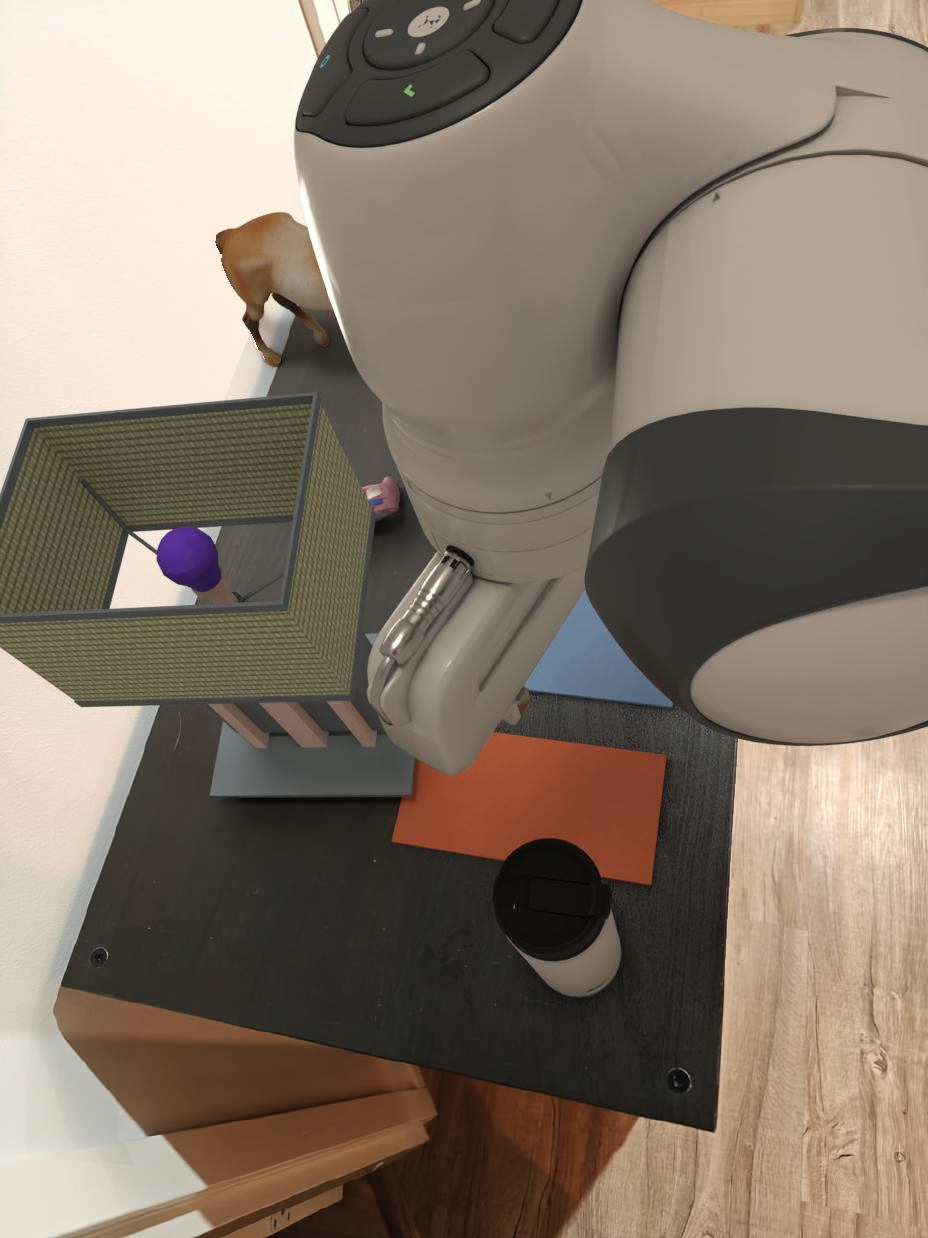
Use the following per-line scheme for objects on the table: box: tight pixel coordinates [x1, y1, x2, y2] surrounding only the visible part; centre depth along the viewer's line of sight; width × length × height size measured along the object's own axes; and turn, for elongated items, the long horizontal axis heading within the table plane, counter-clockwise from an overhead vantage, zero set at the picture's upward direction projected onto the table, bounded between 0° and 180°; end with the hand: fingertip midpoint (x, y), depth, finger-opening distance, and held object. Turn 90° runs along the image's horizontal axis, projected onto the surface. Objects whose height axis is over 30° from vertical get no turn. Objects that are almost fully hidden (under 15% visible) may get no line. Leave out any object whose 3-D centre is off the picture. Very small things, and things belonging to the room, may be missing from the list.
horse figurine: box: [215, 211, 334, 367], centre depth 90 cm, size 31×8×21 cm, turn 64°
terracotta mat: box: [391, 731, 668, 887], centre depth 73 cm, size 20×10×1 cm, turn 78°
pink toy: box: [361, 475, 401, 523], centre depth 87 cm, size 10×5×7 cm, turn 103°
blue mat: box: [524, 590, 674, 709], centre depth 80 cm, size 20×12×1 cm, turn 78°
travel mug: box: [491, 838, 622, 999], centre depth 59 cm, size 6×7×20 cm
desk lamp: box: [0, 391, 416, 799], centre depth 66 cm, size 18×14×33 cm
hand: (559, 629), depth 47 cm, fingers open, 8 cm apart
